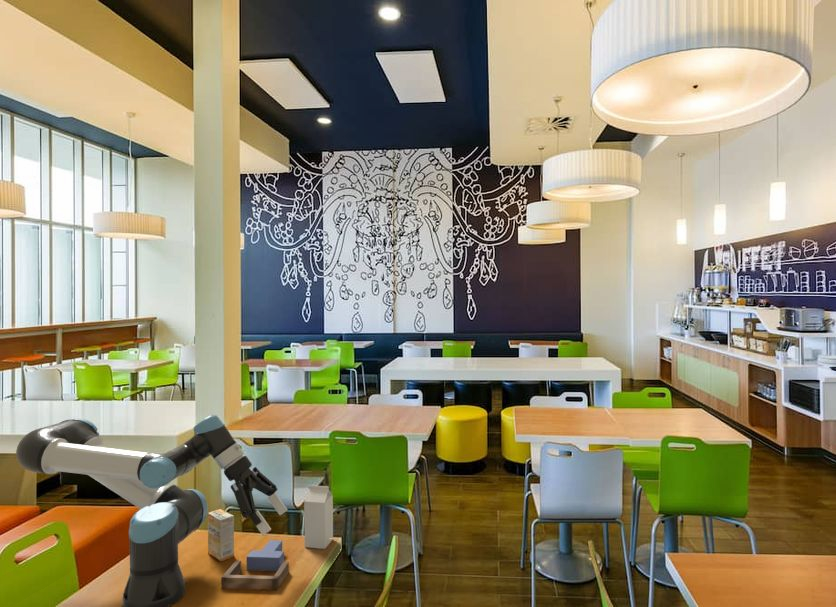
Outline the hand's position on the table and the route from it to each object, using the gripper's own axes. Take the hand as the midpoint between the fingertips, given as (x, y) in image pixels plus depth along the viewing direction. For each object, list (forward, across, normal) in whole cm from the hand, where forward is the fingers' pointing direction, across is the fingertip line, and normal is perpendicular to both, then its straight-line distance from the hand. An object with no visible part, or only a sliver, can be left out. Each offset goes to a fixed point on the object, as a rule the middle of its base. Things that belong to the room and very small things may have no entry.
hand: (275, 522), depth 149 cm
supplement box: (0, +11, +27) cm, 29 cm away
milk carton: (+17, +20, +3) cm, 26 cm away
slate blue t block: (+10, +8, +13) cm, 18 cm away
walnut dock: (+10, -2, +13) cm, 16 cm away
